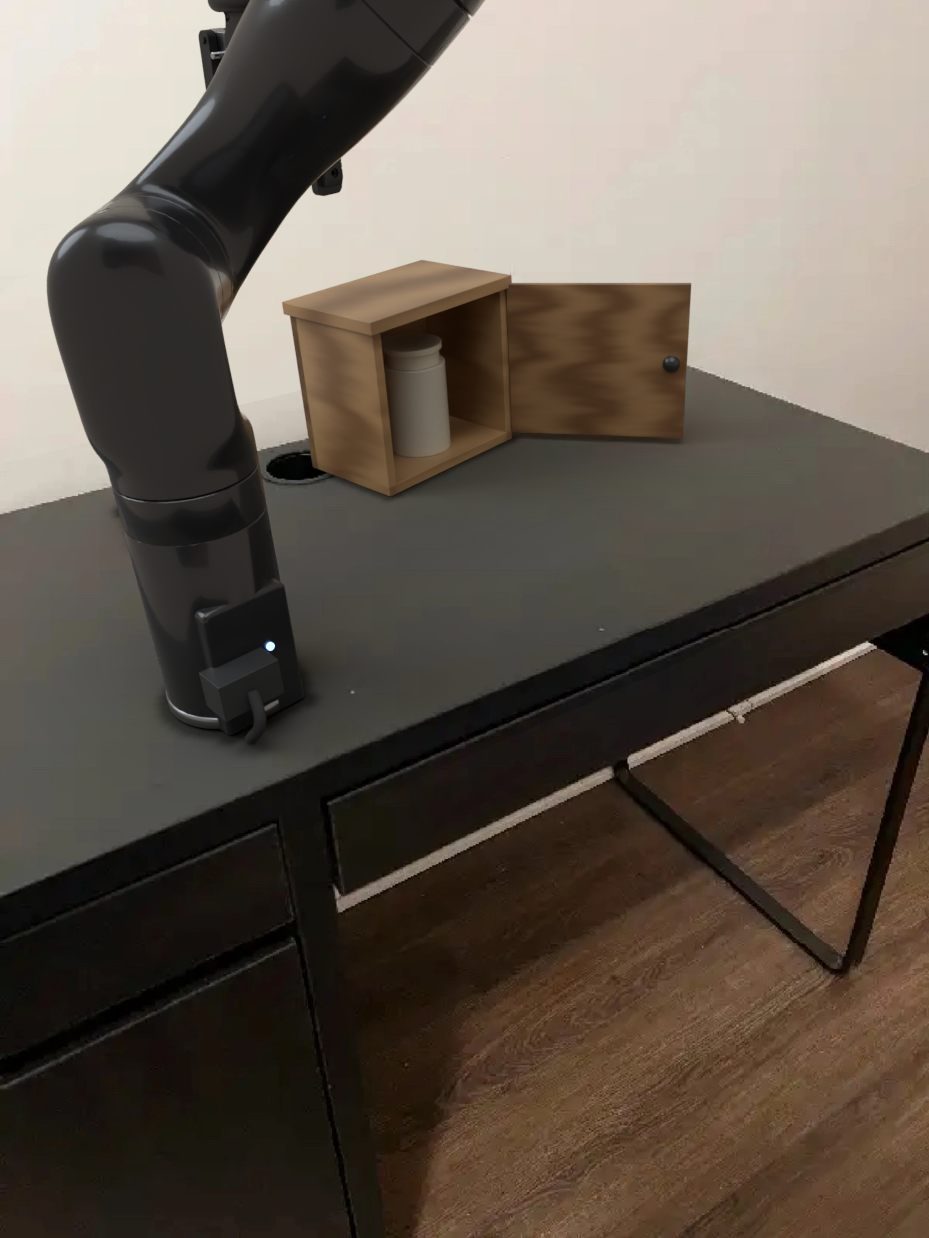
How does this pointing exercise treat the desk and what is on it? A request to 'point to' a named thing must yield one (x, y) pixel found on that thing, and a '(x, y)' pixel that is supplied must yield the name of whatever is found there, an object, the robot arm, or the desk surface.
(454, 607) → the desk surface
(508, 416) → the cabinet
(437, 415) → the white jar
